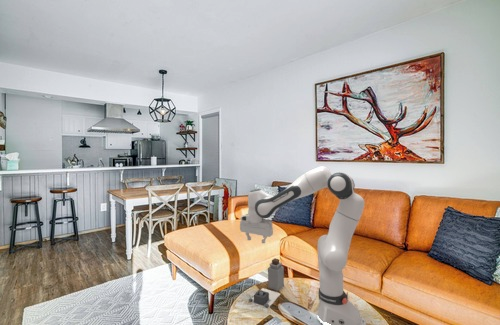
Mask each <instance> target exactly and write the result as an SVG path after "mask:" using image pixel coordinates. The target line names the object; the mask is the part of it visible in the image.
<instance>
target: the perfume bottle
mask: <svg viewBox="0 0 500 325" xmlns="http://www.w3.org/2000/svg"><path fill="white" fill-rule="evenodd" d="M284 269H285V267H284V266H283V263H282V262H281V261H280V259H279V258H275V257H274V258H273V259H272V260H271V262H270V263H269V267H267V282H268V283H267V289H269V290H270V289H271V290H272V291H275V292H279V291H280V290H281V289H283V288H284V287H285V283H284V282H285V279H284V278H285V274H284V273H285V272H284V271H285V270H284Z"/></svg>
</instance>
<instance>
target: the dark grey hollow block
mask: <svg viewBox="0 0 500 325" xmlns="http://www.w3.org/2000/svg"><path fill="white" fill-rule="evenodd" d="M260 291H262V290H261V289H258V290H257V291H256V292H255V293H254V294H253V297H254V303H257V304H260V305H263V306H264V305H265V304H266V303H267V301H268V300H269V293H268V292H265V291H262V292H263V297H262V296H259V292H260Z"/></svg>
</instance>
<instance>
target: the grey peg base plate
mask: <svg viewBox="0 0 500 325" xmlns="http://www.w3.org/2000/svg"><path fill="white" fill-rule="evenodd" d="M260 290H262V291H265V292H268V293H269V300H268V301H267V303H266V304H265V305H264V306H263V305H260V304H257V303H254V296H252V298H251V297H250V298H249V299H248V301H247V302H248V303H250V304H252V305H256V306H257V307H261V308H264V309H266V310H267V309H269V308H270V307H271V306H272V305H273V303H275V301H276V300H277V298H279V297H280V295H281V294H282V293H281V292H280V293H279V292H278V291H275V290H272V289H271V290H270V289H269V288H263V287H261V289H260ZM262 291H260V292H259V296H262V297H263V292H262Z"/></svg>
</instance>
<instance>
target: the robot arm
mask: <svg viewBox="0 0 500 325" xmlns="http://www.w3.org/2000/svg"><path fill="white" fill-rule="evenodd" d="M325 188H328V190H329V191H330V193H332V194H333V195H334V196H335V197H336V198H337V199H339V204H338V206H337V207H336V210H335V212H334V215H333V216H332V218H331V221H330V223H329V228H328V232H327V234H323V235H321V236H320V237H319V238H318V241H317V260H318V273H319V279H318V280H319V281H318V282H319V288H318V291H317V292H318V307H317V311H316V315H318V316H319V318H320V319H321V320H322V321H323V322H327V323H329V324H331V325H367V323H366V320H365V318H364V317H363V316H361V313H360V310H359V308H358V307H357V306H356V305H354V304H353V303H352V302H351V301H350V300H349V293H348V291H347V292H345V291H344V273H343V270H344V269H345V268H346V266H347V263H348V254H349V250H350V246H351V244H352V243H351V242H352V238H353V236H354V234H355V231H356V228H357V226H358V225H359V221H360V220H361V217H362V215H363V212H364V209H365V203H366V202H365V199H364V198H363V197H362V196H361V195H360V194H358V193H356V192H355V191H354V190H355V181H354V179H353V178H352V177H351V176H350V175H348V174H347V173H344V172H335V173H333V172H332V171H331V170H330V169H329V168H328V167H327V166H325V165H321V166H318V167H315V168H313V169H310V170H308V171H307V172H304V173H303V174H301V175H300V176H298V178H296V179H295V180H294V181H293V182H292V183H291V184H290V185H288V186H287V188H285V189H284V190H282V191H280V192H279V193H277V194H275V195H272V194H269V193H267V192H266V191H264V190H263V189H261V188H258V189H257V188H256V189H253V190H250V191H249V192H248V196H247V206H248V211H247V213H246V214H244V215H242V216H240V222H239V230H240V232H242V233H245V235H246V238H247V241H251V240H252V236H251V235H250V234H252V235H257V236H262V237H263V239H261V243H262V244H265V243H266V239H267V238H268V237H269V238H270V237H272V236H273V235H274V229H273V222H272V220H271V219H268V218H270V217H271V216H273V215H274V214H275V213H277V212H278V210H279V209H280V208H281V207H283V206H285V205H286V204H288V203H289V202H293V201H295V200H298V199H300V198H304V197H307V196H310V195H312V194H315V193H316V192H319V191H321V190H322V189H325Z"/></svg>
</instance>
